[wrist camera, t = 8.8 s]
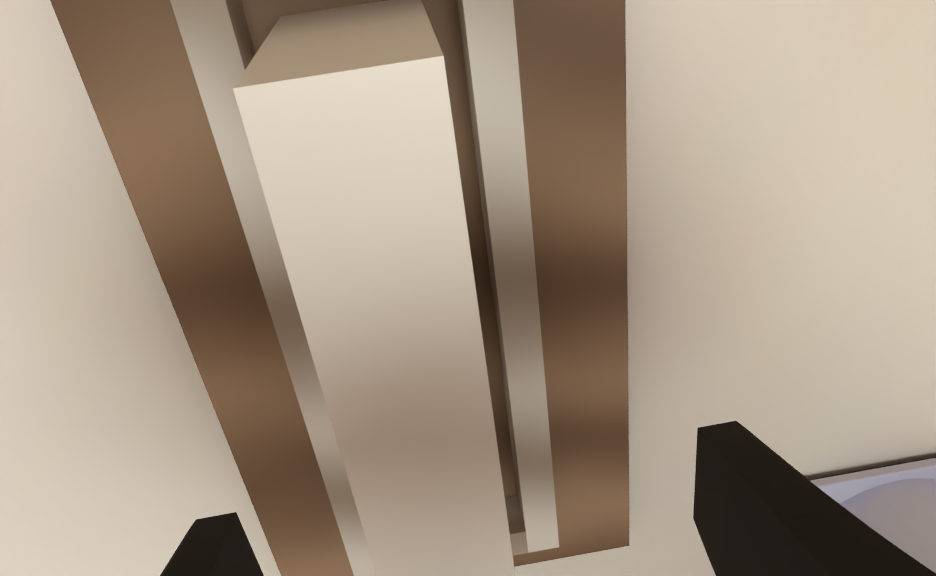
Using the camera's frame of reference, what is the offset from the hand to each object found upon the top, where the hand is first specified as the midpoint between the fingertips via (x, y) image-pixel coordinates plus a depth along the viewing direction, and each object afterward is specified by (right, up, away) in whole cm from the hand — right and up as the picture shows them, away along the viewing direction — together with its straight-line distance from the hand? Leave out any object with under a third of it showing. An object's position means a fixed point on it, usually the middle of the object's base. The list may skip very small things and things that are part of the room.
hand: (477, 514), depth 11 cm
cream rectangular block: (-2, +4, +8) cm, 9 cm away
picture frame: (-2, +4, +8) cm, 9 cm away
